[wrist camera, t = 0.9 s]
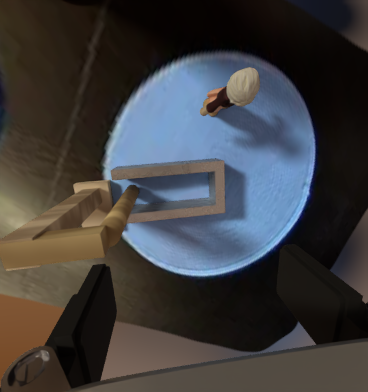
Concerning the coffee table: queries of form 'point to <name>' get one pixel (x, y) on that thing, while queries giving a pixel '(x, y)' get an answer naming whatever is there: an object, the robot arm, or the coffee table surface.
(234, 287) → the coffee table surface
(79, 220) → the pin stand
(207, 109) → the grandmother figurine
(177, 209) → the steel C-link
